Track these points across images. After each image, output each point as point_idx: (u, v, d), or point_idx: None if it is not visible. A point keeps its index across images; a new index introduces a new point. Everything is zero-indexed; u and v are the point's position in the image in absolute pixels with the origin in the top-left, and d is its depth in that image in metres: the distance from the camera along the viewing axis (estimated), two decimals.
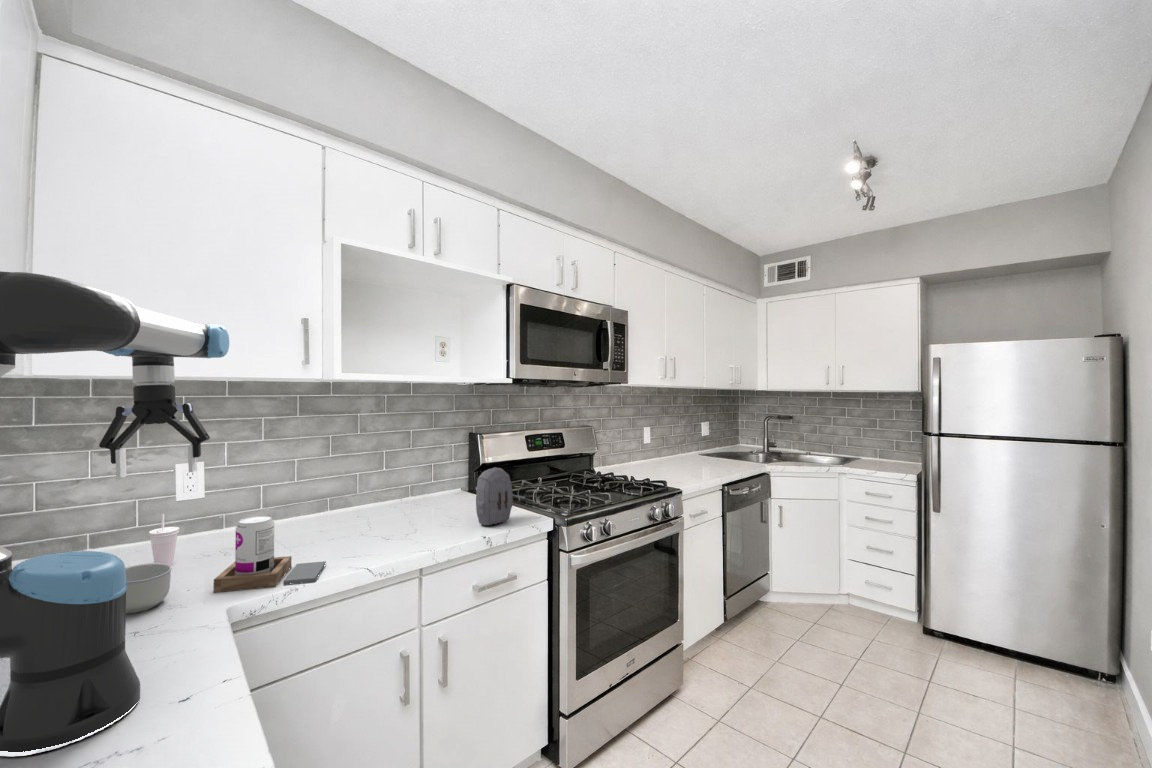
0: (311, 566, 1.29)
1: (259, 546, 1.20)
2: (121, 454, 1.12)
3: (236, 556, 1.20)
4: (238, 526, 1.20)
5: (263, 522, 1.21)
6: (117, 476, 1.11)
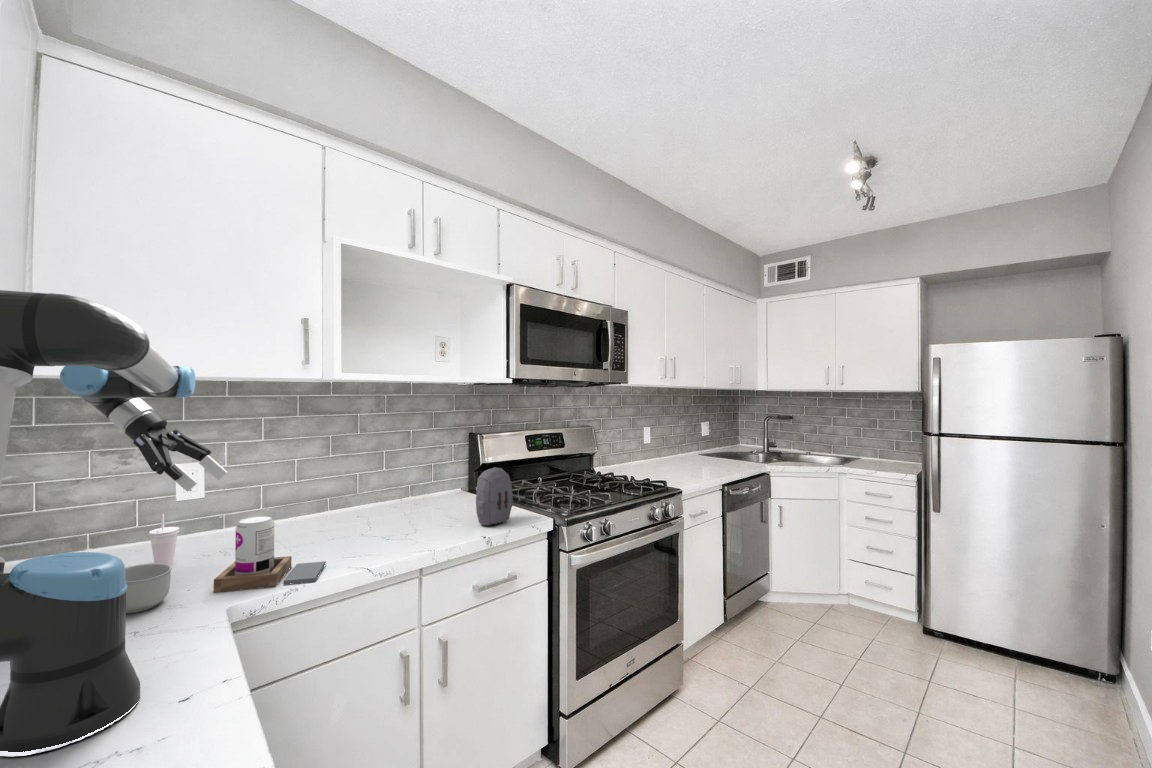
0: (311, 566, 1.29)
1: (259, 546, 1.20)
2: None
3: (236, 556, 1.20)
4: (238, 526, 1.20)
5: (263, 522, 1.21)
6: (195, 481, 1.15)
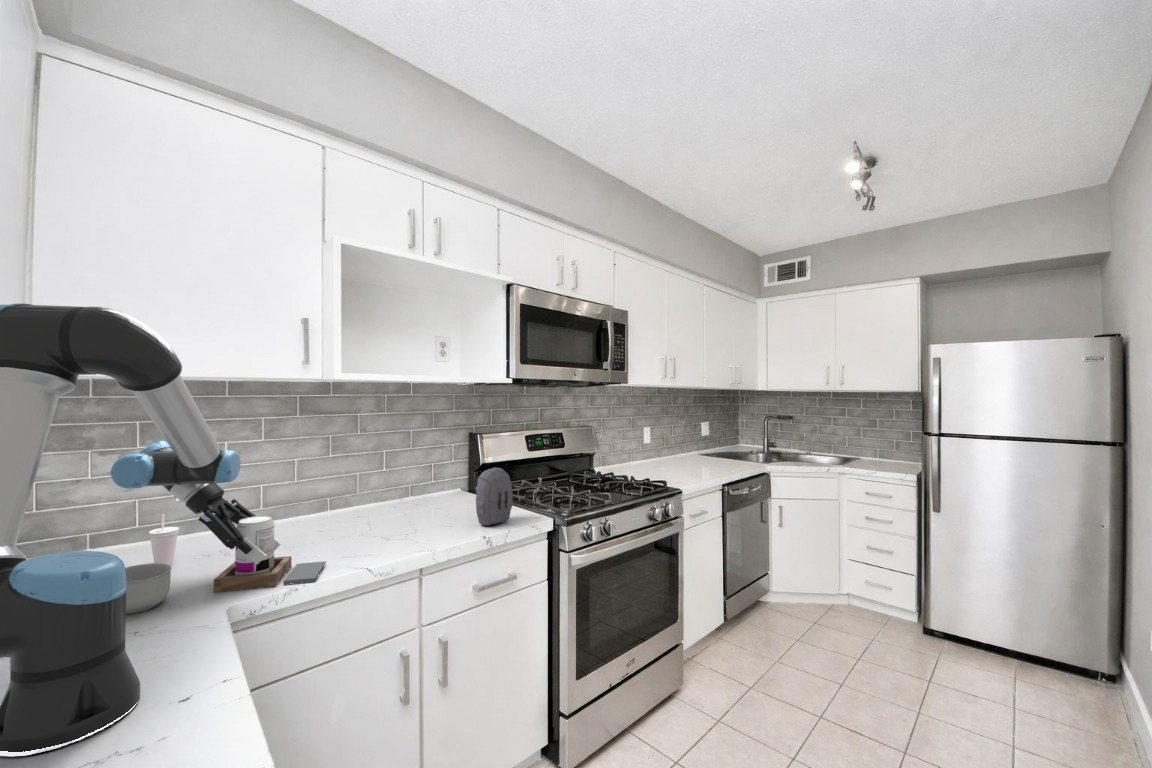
0: (311, 566, 1.29)
1: (259, 546, 1.20)
2: None
3: (236, 556, 1.20)
4: (238, 526, 1.20)
5: (263, 522, 1.21)
6: (264, 554, 1.19)
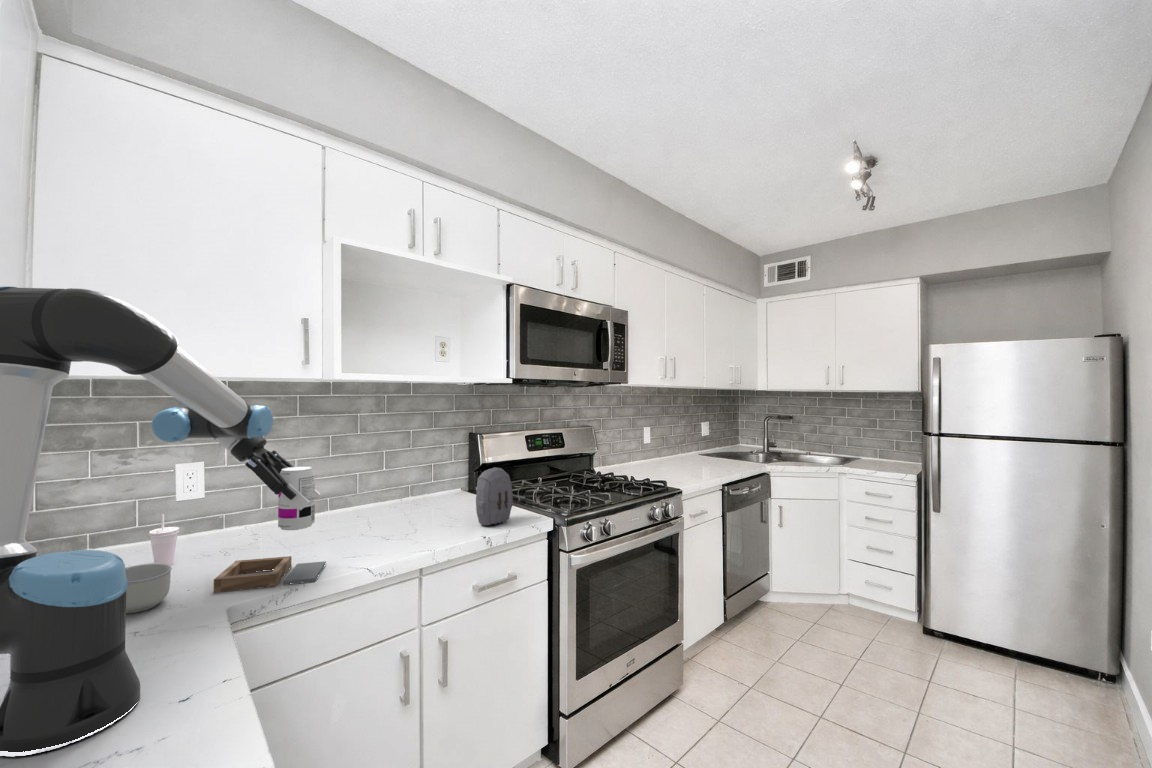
0: (311, 566, 1.29)
1: (301, 493, 1.23)
2: None
3: (279, 503, 1.23)
4: (281, 473, 1.23)
5: (305, 470, 1.25)
6: (307, 500, 1.22)
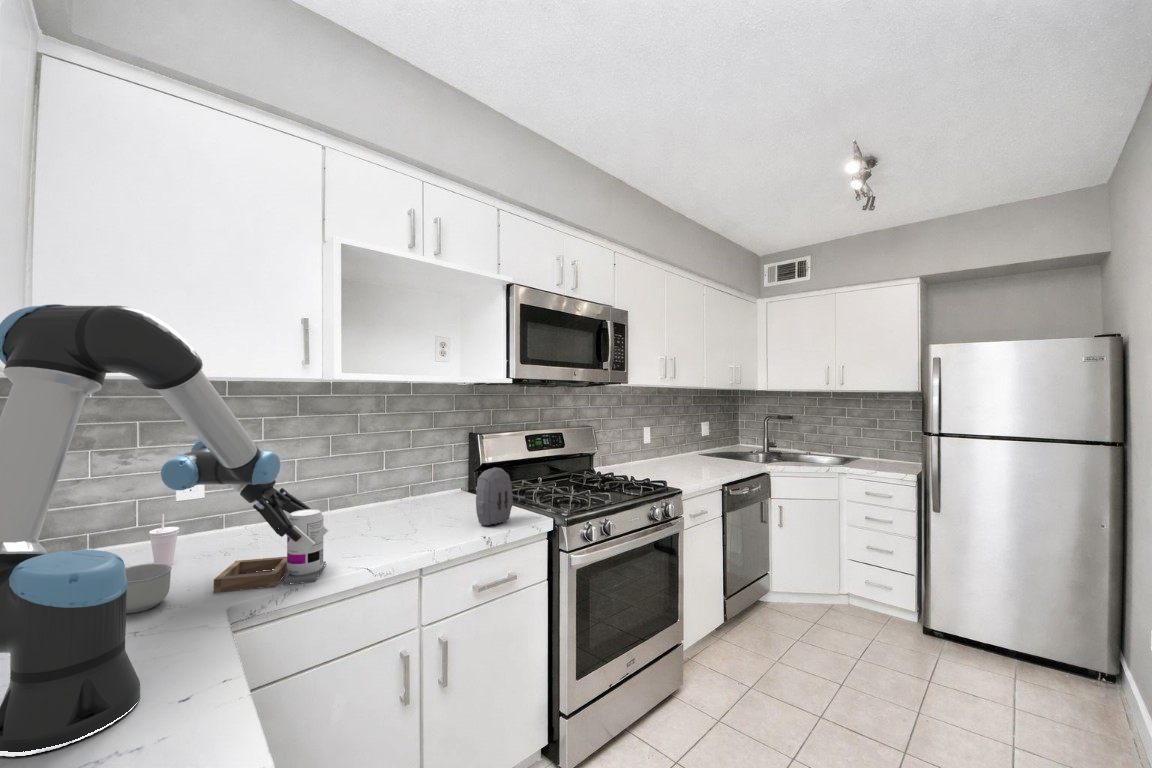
0: None
1: (310, 538, 1.23)
2: None
3: (288, 548, 1.23)
4: (290, 519, 1.23)
5: (314, 515, 1.24)
6: (313, 542, 1.21)
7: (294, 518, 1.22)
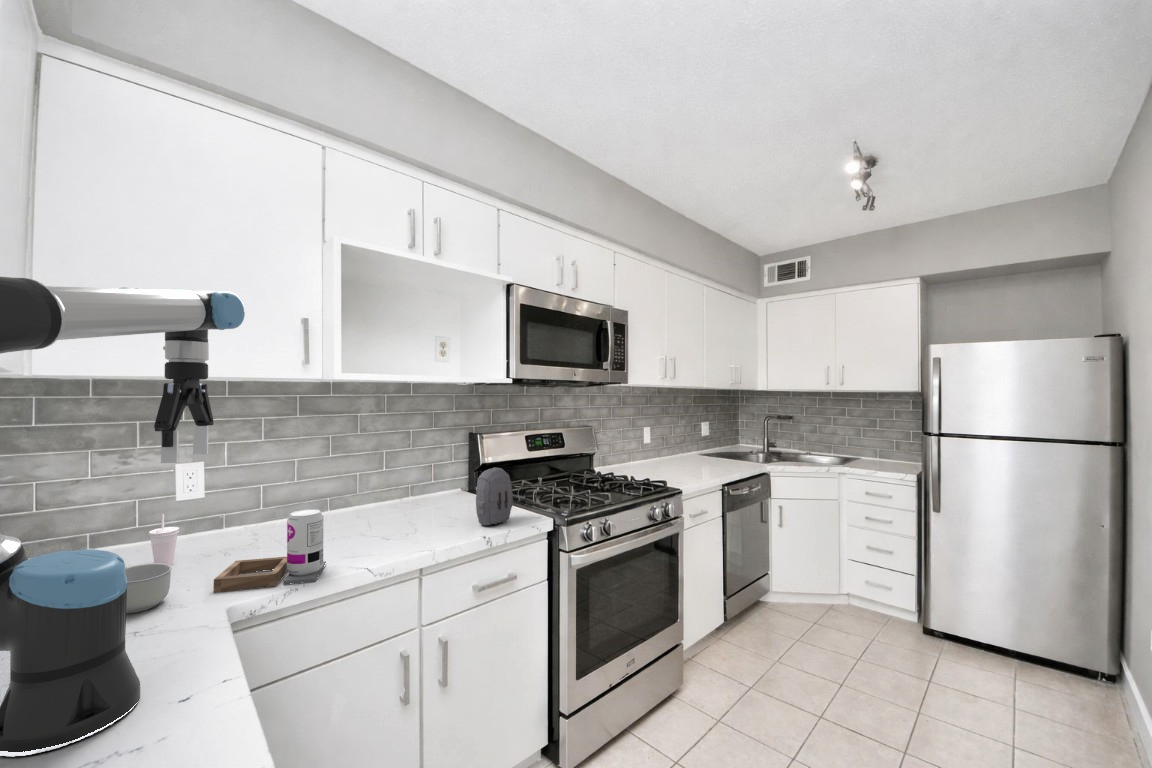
0: None
1: (310, 538, 1.23)
2: None
3: (288, 548, 1.23)
4: (290, 519, 1.23)
5: (314, 515, 1.24)
6: (177, 460, 1.01)
7: (294, 518, 1.23)
